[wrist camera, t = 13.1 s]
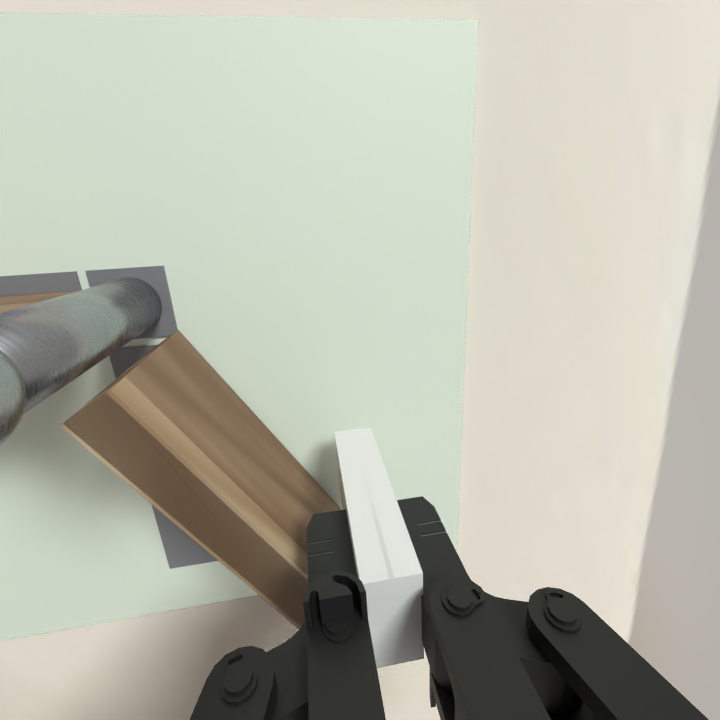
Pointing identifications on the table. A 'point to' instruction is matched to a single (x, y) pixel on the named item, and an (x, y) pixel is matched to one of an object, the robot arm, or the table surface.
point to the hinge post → (66, 340)
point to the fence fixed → (26, 300)
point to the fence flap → (208, 468)
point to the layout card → (233, 264)
